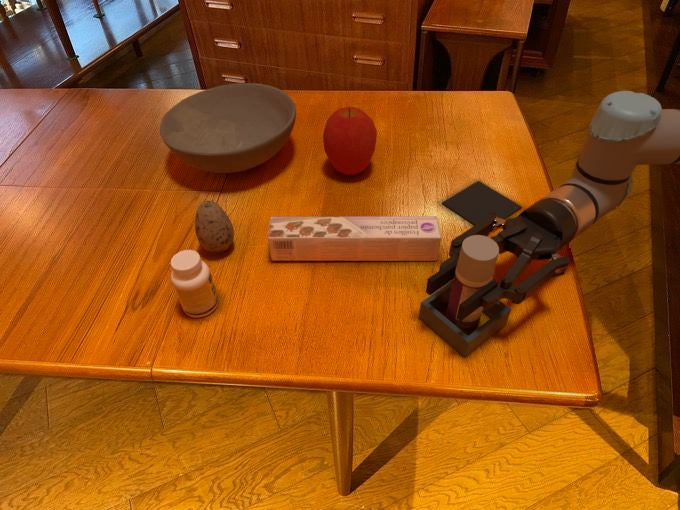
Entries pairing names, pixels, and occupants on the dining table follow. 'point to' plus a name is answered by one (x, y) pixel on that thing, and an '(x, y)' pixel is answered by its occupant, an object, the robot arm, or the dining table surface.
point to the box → (355, 238)
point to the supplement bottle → (193, 284)
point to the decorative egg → (213, 227)
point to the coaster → (480, 203)
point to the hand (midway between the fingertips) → (444, 299)
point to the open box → (452, 332)
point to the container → (471, 278)
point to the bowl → (229, 126)
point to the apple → (349, 140)
